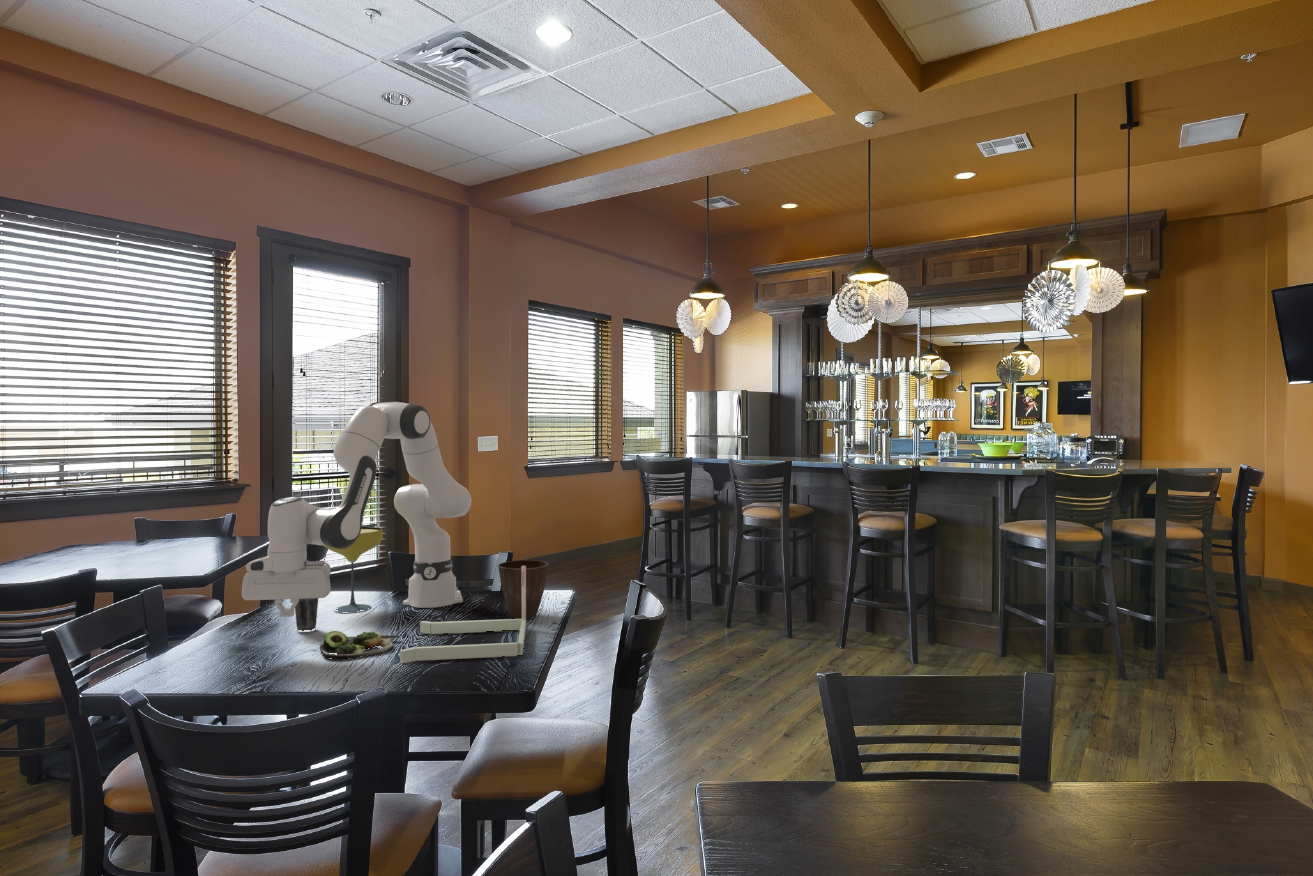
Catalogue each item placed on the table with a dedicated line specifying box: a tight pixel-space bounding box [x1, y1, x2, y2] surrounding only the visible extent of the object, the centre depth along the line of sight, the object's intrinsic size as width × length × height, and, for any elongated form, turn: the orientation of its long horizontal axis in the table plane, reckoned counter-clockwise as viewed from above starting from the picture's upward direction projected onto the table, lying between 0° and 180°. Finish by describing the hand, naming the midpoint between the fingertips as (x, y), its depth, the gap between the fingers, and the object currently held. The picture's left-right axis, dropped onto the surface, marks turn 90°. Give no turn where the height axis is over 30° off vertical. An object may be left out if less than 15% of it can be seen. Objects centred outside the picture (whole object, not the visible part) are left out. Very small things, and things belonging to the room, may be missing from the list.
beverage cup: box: [294, 598, 319, 631], centre depth 199 cm, size 7×7×20 cm
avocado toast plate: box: [319, 630, 400, 660], centre depth 183 cm, size 19×18×5 cm
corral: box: [399, 566, 527, 664], centre depth 186 cm, size 28×29×18 cm
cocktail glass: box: [323, 526, 384, 613], centre depth 223 cm, size 18×18×25 cm
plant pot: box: [497, 559, 549, 620], centre depth 213 cm, size 15×15×16 cm
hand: (286, 616), depth 179 cm, fingers closed
